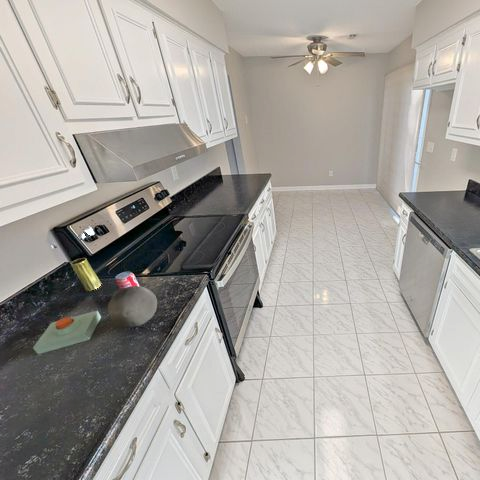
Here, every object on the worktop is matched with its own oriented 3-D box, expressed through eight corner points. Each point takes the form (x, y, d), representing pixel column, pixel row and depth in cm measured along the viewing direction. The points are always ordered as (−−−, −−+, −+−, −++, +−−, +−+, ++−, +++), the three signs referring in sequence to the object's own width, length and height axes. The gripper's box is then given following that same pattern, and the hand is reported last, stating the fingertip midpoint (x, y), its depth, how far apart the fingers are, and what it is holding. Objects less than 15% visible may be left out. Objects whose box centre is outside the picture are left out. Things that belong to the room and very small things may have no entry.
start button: (55, 330, 86) (52, 327, 85) (61, 322, 89) (58, 319, 88) (69, 326, 87) (67, 323, 86) (74, 319, 91) (72, 315, 90)
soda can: (125, 305, 103) (112, 281, 97) (127, 297, 107) (114, 273, 102) (143, 299, 105) (131, 275, 100) (144, 291, 110) (132, 268, 105)
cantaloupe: (114, 325, 93) (95, 293, 86) (156, 304, 102) (142, 273, 95) (125, 345, 84) (105, 311, 77) (169, 320, 93) (155, 288, 87)
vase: (88, 293, 112) (72, 266, 105) (83, 289, 115) (66, 262, 108) (104, 285, 116) (89, 259, 109) (99, 282, 119) (84, 256, 112)
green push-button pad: (38, 354, 83) (29, 343, 81) (56, 328, 93) (48, 318, 91) (89, 339, 88) (82, 329, 85) (101, 316, 98) (95, 307, 95)
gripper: (30, 236, 113) (31, 245, 105) (87, 220, 126) (92, 228, 118) (38, 248, 116) (40, 258, 108) (93, 232, 129) (98, 240, 121)
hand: (68, 242), depth 113 cm, fingers open, 8 cm apart
